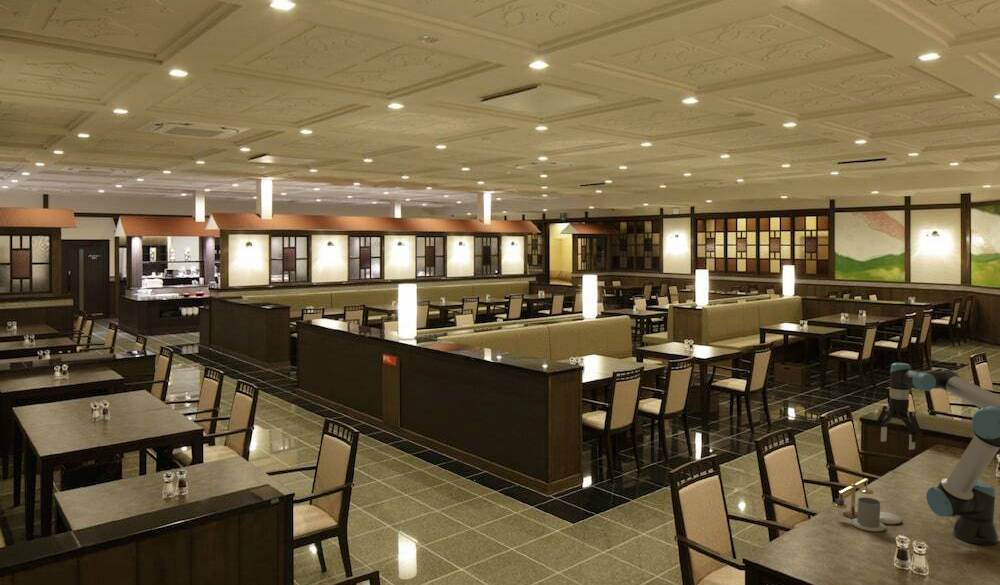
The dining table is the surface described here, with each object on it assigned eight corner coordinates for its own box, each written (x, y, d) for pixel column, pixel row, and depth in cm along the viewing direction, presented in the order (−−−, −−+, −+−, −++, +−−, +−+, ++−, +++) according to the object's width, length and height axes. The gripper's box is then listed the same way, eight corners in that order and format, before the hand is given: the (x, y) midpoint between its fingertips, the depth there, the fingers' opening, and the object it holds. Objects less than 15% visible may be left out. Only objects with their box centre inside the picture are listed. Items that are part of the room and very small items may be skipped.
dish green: (892, 529, 288) (892, 527, 288) (870, 534, 283) (870, 531, 283) (865, 518, 300) (865, 516, 300) (844, 523, 295) (844, 520, 295)
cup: (882, 528, 286) (883, 505, 286) (860, 526, 288) (861, 503, 287) (875, 520, 294) (876, 498, 294) (854, 519, 296) (855, 496, 296)
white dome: (908, 522, 296) (908, 519, 296) (887, 526, 291) (887, 524, 291) (881, 512, 308) (881, 509, 308) (861, 516, 303) (861, 513, 303)
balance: (864, 510, 310) (865, 476, 309) (875, 514, 305) (876, 479, 304) (829, 517, 301) (830, 481, 300) (839, 521, 296) (841, 485, 295)
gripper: (932, 402, 292) (930, 451, 293) (879, 392, 315) (878, 437, 316) (920, 404, 289) (918, 453, 290) (868, 393, 312) (866, 438, 313)
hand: (897, 445), depth 303 cm, fingers open, 13 cm apart
